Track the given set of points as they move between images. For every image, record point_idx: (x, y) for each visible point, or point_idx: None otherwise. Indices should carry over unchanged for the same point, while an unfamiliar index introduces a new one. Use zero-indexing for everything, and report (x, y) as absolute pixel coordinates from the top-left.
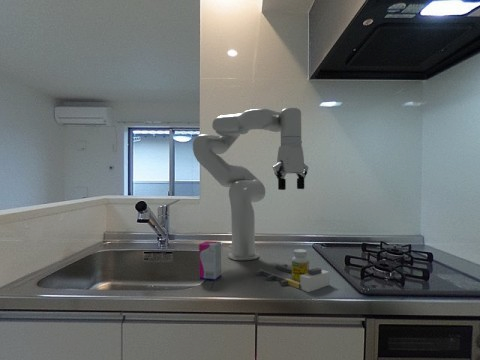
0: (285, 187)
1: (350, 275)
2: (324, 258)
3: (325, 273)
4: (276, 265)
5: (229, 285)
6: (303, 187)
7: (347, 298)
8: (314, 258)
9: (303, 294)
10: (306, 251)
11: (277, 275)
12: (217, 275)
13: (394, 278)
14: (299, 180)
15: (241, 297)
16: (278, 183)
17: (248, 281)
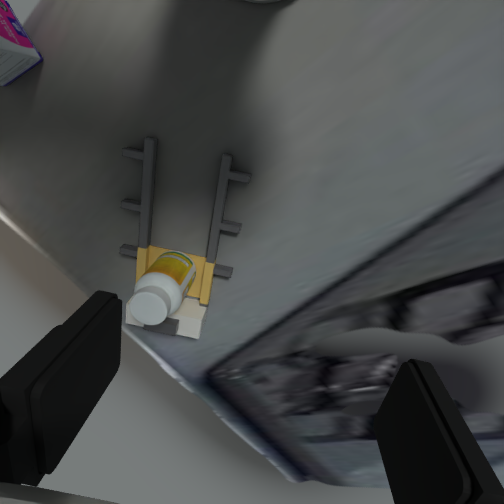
0: (103, 385)
1: (299, 332)
2: (432, 218)
3: (185, 335)
4: (222, 156)
5: (23, 147)
6: (380, 439)
7: (167, 364)
8: (414, 191)
9: (122, 303)
10: (156, 324)
11: (146, 218)
12: (9, 78)
13: (336, 398)
14: (428, 489)
15: (10, 220)
16: (29, 354)
17: (80, 165)
